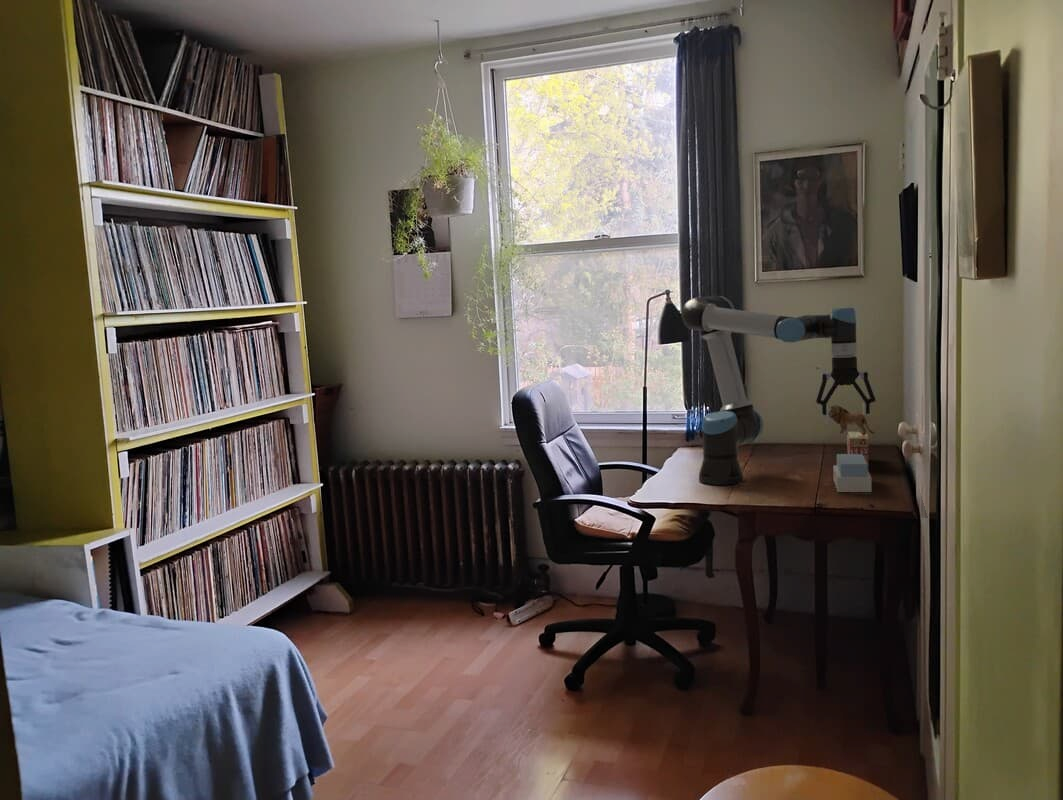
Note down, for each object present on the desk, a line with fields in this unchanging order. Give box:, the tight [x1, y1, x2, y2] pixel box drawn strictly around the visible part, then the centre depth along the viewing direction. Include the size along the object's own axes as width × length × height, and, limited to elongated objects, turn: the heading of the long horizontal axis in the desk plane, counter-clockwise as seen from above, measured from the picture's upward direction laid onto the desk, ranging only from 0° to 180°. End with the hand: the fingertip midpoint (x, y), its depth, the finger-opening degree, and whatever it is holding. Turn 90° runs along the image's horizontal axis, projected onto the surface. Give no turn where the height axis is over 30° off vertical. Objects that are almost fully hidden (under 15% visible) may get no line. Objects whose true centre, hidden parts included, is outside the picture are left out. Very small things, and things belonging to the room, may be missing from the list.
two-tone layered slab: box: [832, 453, 872, 493], centre depth 275 cm, size 10×18×9 cm, turn 164°
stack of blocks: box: [846, 431, 869, 465], centre depth 304 cm, size 21×6×12 cm, turn 162°
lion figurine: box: [829, 404, 875, 435], centre depth 272 cm, size 15×5×9 cm, turn 45°
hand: (846, 424), depth 273 cm, fingers closed on lion figurine, 10 cm apart
